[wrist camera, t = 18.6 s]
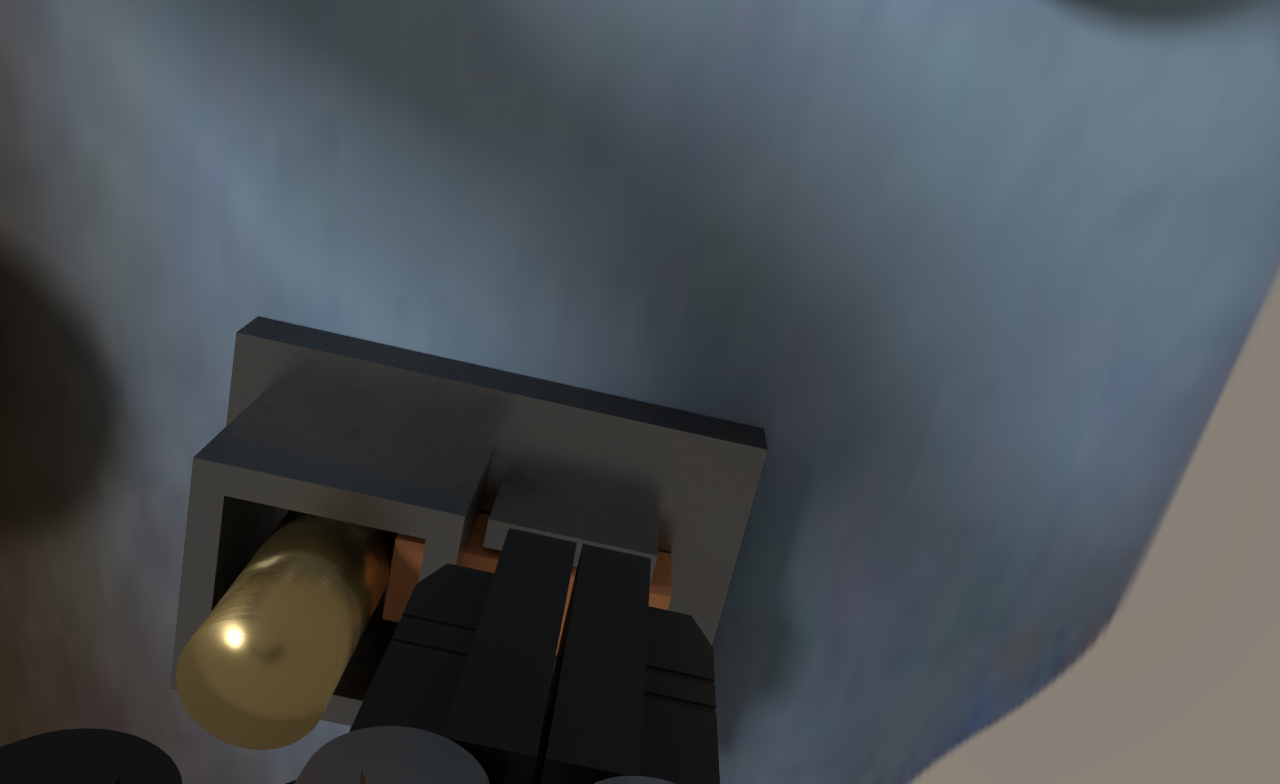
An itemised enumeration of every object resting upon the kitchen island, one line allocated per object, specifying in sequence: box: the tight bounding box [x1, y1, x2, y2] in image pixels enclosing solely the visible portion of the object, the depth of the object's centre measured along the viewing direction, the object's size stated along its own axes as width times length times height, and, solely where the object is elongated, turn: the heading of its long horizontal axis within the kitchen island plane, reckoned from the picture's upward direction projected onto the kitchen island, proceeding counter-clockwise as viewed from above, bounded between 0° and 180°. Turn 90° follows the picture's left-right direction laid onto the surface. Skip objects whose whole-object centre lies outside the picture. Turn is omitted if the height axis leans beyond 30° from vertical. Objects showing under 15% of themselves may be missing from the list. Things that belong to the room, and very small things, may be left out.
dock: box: [170, 316, 768, 726], centre depth 38 cm, size 18×12×8 cm, turn 77°
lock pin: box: [382, 513, 672, 656], centre depth 38 cm, size 9×3×3 cm, turn 77°
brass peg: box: [176, 510, 398, 750], centre depth 35 cm, size 4×4×10 cm
